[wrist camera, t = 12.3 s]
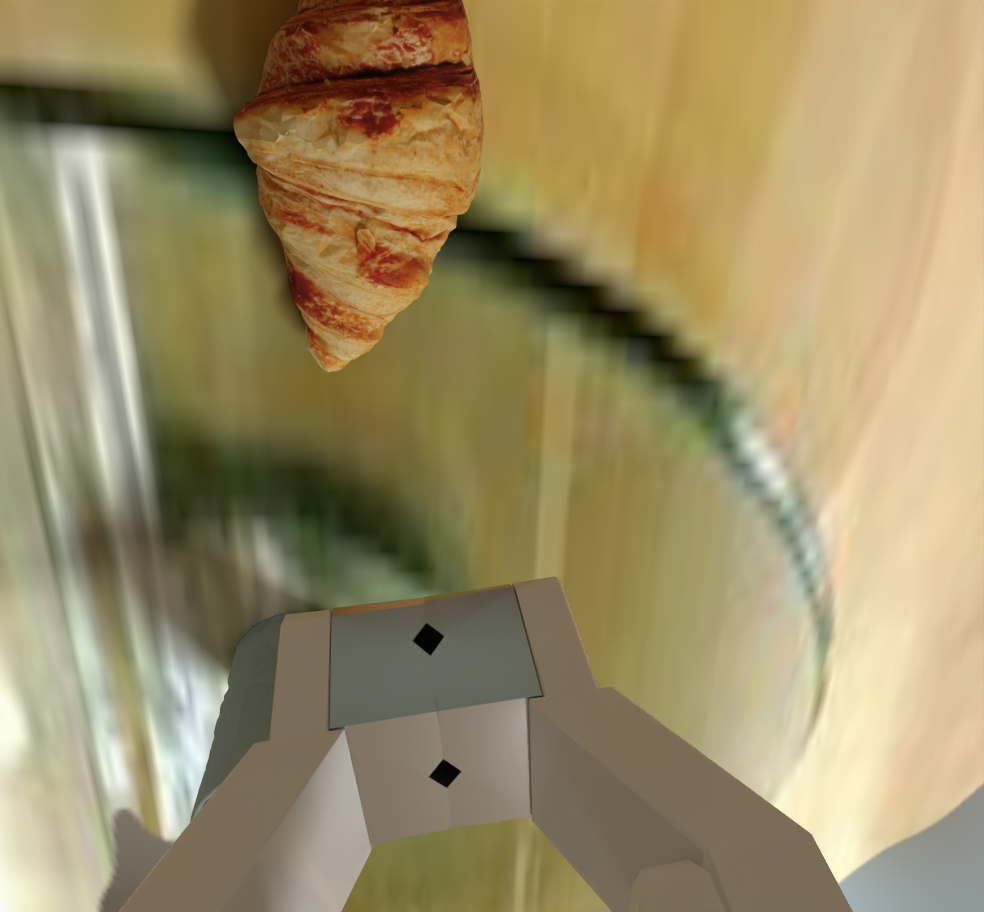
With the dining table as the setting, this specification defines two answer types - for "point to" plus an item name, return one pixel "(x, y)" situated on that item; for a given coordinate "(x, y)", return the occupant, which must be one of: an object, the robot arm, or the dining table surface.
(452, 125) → the croissant
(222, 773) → the gray cup
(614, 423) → the dining table surface
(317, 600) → the dining table surface
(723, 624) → the dining table surface
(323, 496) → the dining table surface
